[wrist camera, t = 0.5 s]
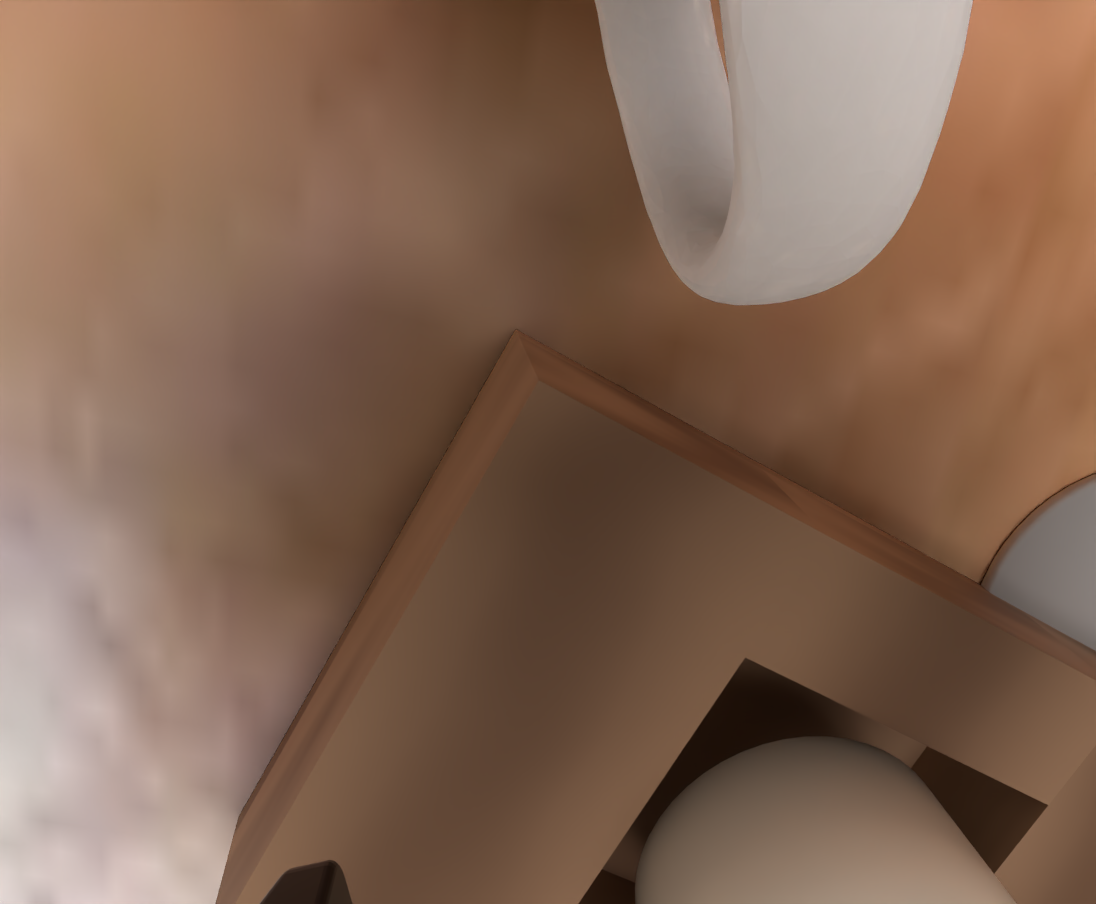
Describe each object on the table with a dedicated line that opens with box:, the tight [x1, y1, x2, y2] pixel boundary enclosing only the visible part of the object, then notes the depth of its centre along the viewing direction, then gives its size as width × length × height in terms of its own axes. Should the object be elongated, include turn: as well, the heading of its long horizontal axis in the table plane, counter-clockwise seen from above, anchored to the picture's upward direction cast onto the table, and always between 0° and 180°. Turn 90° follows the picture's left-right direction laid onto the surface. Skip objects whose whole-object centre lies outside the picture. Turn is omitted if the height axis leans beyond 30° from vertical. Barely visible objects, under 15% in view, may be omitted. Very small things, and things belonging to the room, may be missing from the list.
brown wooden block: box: [216, 330, 1096, 904], centre depth 21 cm, size 18×12×4 cm, turn 60°
